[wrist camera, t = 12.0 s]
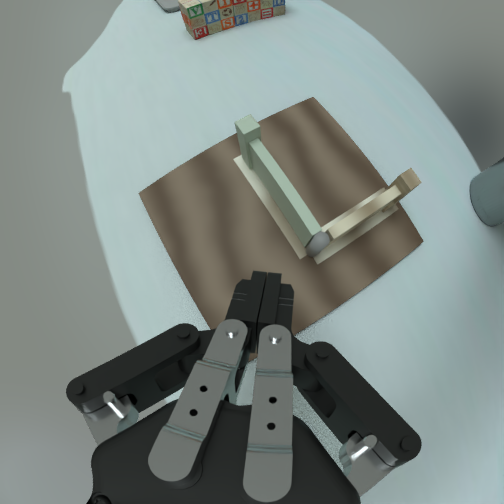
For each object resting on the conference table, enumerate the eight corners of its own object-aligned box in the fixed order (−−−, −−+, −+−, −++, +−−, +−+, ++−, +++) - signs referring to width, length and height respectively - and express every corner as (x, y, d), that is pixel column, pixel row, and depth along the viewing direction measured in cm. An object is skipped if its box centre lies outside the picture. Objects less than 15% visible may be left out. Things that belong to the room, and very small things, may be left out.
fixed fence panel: (384, 193, 34) (411, 167, 25) (392, 206, 33) (421, 182, 25) (315, 238, 33) (329, 220, 25) (324, 252, 33) (341, 238, 25)
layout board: (312, 100, 38) (313, 96, 37) (420, 242, 33) (423, 241, 32) (141, 195, 37) (138, 192, 36) (236, 366, 33) (235, 369, 31)
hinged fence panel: (322, 251, 33) (339, 236, 24) (308, 260, 33) (321, 248, 24) (255, 151, 36) (250, 114, 27) (242, 158, 36) (234, 122, 27)
